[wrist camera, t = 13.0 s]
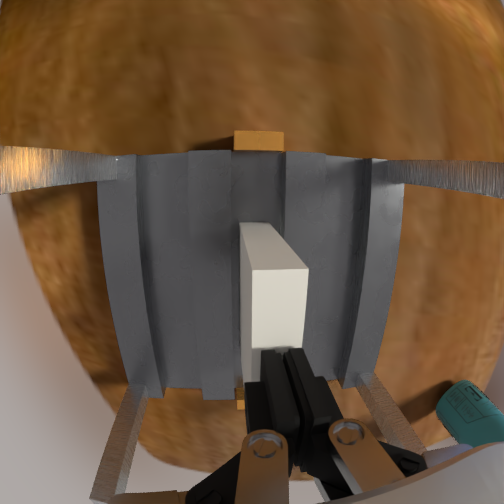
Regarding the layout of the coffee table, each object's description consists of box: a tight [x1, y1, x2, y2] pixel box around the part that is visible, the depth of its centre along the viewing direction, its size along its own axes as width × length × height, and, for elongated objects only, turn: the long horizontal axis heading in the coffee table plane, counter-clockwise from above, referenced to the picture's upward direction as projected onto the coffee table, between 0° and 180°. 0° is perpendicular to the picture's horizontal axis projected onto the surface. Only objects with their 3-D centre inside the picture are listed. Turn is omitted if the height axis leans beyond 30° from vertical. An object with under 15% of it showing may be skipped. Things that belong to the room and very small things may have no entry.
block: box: [239, 222, 309, 384], centre depth 16 cm, size 10×2×10 cm, turn 0°
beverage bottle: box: [436, 380, 504, 448], centre depth 19 cm, size 6×7×20 cm
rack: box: [0, 131, 504, 504], centre depth 15 cm, size 21×21×14 cm
